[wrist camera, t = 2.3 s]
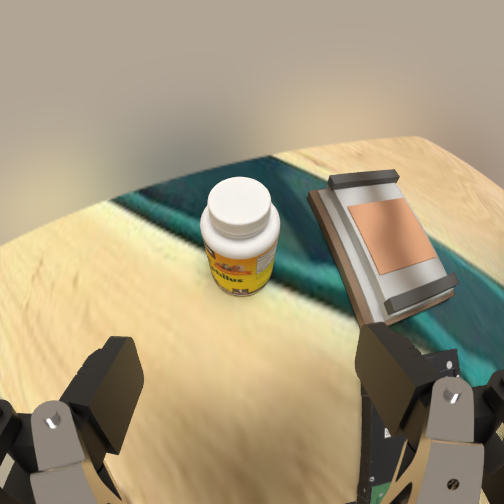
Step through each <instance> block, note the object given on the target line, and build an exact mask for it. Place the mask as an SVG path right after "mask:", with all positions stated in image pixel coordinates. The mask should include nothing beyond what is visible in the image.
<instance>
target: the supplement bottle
mask: <svg viewBox="0 0 504 504" xmlns="http://www.w3.org/2000/svg"><path fill="white" fill-rule="evenodd" d="M200 227H201V234H202V238H203V242H204V245H205V249H206V253H207V257H208V261H209V265H210V269H211V272H212V275H213V278H214V280H215V282H216V283H217V285H218V286H219V287H220V288H221V289H223V290H224V291H226V292H227V293H230V294H233V295H238V296H246V295H251V294H254V293H256V292H258V291H259V290H261V289H262V288H263V287H264V286H265V285H266V284H267V282H268V281H269V279H270V276H271V273H272V268H273V263H274V258H275V253H276V247H277V242H278V236H279V231H280V218H279V215H278V212H277V210H276V208H275V207H274V205H273V204H272V203H271V197H270V194H269V192H268V190H267V189H266V188H265V186H264V185H262V184H261V183H260V182H258V181H256V180H254V179H251V178H246V177H234V178H229V179H226V180H224V181H222V182H220V183H218V184H217V185H216V186H215V187H214V188H213V189H212V190H211V192H210V194H209V197H208V205H207V207H206V208H205V210H204V212H203V214H202V217H201V223H200Z"/></svg>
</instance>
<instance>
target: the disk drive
mask: <svg viewBox="0 0 504 504" xmlns="http://www.w3.org/2000/svg"><path fill="white" fill-rule="evenodd" d="M424 357H425V358H426V359H427V360H428V361H429V362H430V363H431V364H432V365H433V366H434V367H435V369H436V370H437V371H438V372H439V373H440V374H441V375H442V376H443V378H444V377H456V378H459V379H460V368H459V361H458V355H457V349H450V350H446V351H441V352H436V353H430V354H424ZM361 395H362V439H361V440H362V443H361V444H362V445H361V463H360V476H359V483H358V490H357V494H358V496H357V503H356V504H380V503H381V501H382V500H383V498H384V496H385V495H386V493H387V491H388V489H389V487H390V485H391V482H392V480H393V477H394V474H395V471H396V468H397V465H398V462H399V459H400V456H401V452H402V449H403V445H404V443H405V441H406V439H407V438H406V436H405V434H403V435H400V436H397V437H395V438H392V437H391V435H390V434H389V432H388V430H387V428H386V426H385V424H384V422H383V421H382V419H381V417H380V415H379V413H378V411H377V410H376V408H375V406H374V404H373V402H372V401H371V399H370V397H369V395H368V393H367V392H366V390H365V388H364V386H363V385H362V383H361Z"/></svg>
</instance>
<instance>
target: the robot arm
mask: <svg viewBox="0 0 504 504" xmlns="http://www.w3.org/2000/svg"><path fill="white" fill-rule="evenodd" d="M355 370H356V373H357V376H358V377H359V379H360V381H361V383H362V385H363V386H364V388H365V390H366V392H367V393H368V395H369V397H370V399H371V401H372V402H373V404H374V406H375V408H376V410H377V411H378V413H379V415H380V417H381V419H382V421H383V422H384V424H385V426H386V428H387V430H388V432H389V434H390V435H391V437H392V438H395V437H397V436H400V435H403V434H405V436H406V438H407V439H406V441H405V443H404V445H403V449H402V452H401V456H400V459H399V462H398V465H397V468H396V471H395V474H394V477H393V480H392V482H391V485H390V487H389V489H388V491H387V493H386V495H385V496H384V498H383V500H382V501H381V503H380V504H479V499H480V492H481V487H482V489H483V491H484V493H485V495H486V497H487V499H488V501H489V503H490V504H504V443H503V442H502V440H501V439H500V437H499V436H498V435H497V433H496V430H497V429H498V428H499V426H500V425H501V423H502V422H503V423H504V370H499V371H496V372H494V373H493V374H492V376H491V378H490V380H489V382H488V384H487V385H484V386H477V387H470V385H469V384H468V383H467V382H465V381H464V380H462V379H459V378H456V377H444V378H443V376H442V375H441V374H440V373H439V372H438V371H437V370H436V369H435V367H434V366H433V365H432V364H431V363H430V362H429V361H428V360H427V359H426V358H425V357H424V355H421V352H420V351H419V350H418V349H417V348H415V346H414V345H413V344H412V343H411V342H410V340H409V339H408V338H406V337H404V336H402V335H400V334H399V333H397V332H395V333H394V332H393V331H392V330H391V329H390V328H389V327H388V326H387V325H386V324H385V323H384V322H382V321H381V322H375V323H369V324H363V325H362V327H361V329H360V335H359V341H358V346H357V352H356V357H355ZM143 384H144V375H143V370H142V367H141V363H140V360H139V357H138V354H137V350H136V347H135V343H134V341H133V339H132V338H131V337H122V336H111V337H110V338H109V339H108V340H107V342H106V343H105V345H104V346H103V348H102V349H98V350H96V351H95V352H94V353H92V354H91V355H89V356H88V358H87V359H86V361H85V362H84V364H83V365H82V367H81V368H80V369H79V371H78V372H77V375H75V377H74V378H73V380H72V381H71V383H70V384H69V386H68V387H67V389H66V390H65V392H64V393H63V395H62V396H61V398H60V400H59V401H47V402H44V403H42V404H41V405H39V406H38V407H37V408H36V409H35V410H34V412H33V413H32V414H25V413H16V412H15V410H14V409H13V407H12V405H11V404H10V403H9V402H8V401H6V400H0V466H1V464H2V462H3V459H4V458H5V456H6V454H7V453H8V454H9V455H10V456H11V458H12V459H13V460H14V461H15V462H14V464H13V466H12V468H11V471H10V473H9V475H8V477H7V480H6V482H5V485H4V487H3V489H2V488H1V487H0V504H127V502H126V500H125V499H124V497H123V495H122V493H121V491H120V489H119V488H118V486H117V484H116V482H115V480H114V478H113V476H112V474H111V472H110V470H109V468H108V466H107V464H106V462H105V460H104V458H105V455H106V453H111V454H115V455H119V453H120V450H121V447H122V444H123V441H124V438H125V435H126V432H127V430H128V427H129V424H130V421H131V418H132V415H133V413H134V410H135V407H136V404H137V402H138V399H139V396H140V394H141V391H142V388H143ZM346 504H356V501H354V502H350V503H346Z"/></svg>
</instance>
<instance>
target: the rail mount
mask: <svg viewBox="0 0 504 504" xmlns="http://www.w3.org/2000/svg"><path fill="white" fill-rule="evenodd" d="M399 177H400V176H399V175H398V174H397V172H396V171H395V169H393V170H380V171H368V172H357V173H347V174H338V175H330V176H329V180H328V183H327V187H326V189H321V190H313V191H309V193H308V197H307V199H308V201H309V203H310V205H311V208H312V210H313V212H314V214H315V216H316V219H317V221H318V223H319V225H320V228H321V230H322V232H323V235H324V237H325V239H326V242H327V244H328V246H329V249H330V251H331V253H332V256H333V258H334V261H335V263H336V266H337V268H338V271H339V273H340V276H341V278H342V281H343V283H344V286H345V289H346V291H347V294H348V296H349V299H350V302H351V304H352V307H353V310H354V313H355V315H356V318H357V321H358V324H359V327H360V329H361V327H362V325H363V324H369V323H375V322H381V321H382V322H384V323H385V324H386V325H387V326H390V325H392V324H395V323H397V322H400V321H402V320H404V319H407V318H409V317H411V316H414V315H416V314H418V313H420V312H423V311H425V310H427V309H429V308H431V307H433V306H436V305H438V304H440V303H442V302H444V301H446V300H448V299H450V298H451V297H453V296H454V295H455V293H454V291H453V287H455V286H456V285H457V284H459V281H458V279H457V276H456V274H455V272H454V273H452V274H449V275H447V274H446V272H445V270H444V268H443V265H442V263H441V261H440V259H439V257H438V255H437V253H436V251H435V249H434V247H433V245H432V243H431V242H430V240H429V238H428V236H427V234H426V232H425V231H424V229H423V227H422V225H421V223H420V222H419V220H418V218H417V216H416V215H415V213H414V211H413V210H412V208H411V206H410V205H409V203H408V202H407V200H406V198H405V197H404V195H403V194H402V192H401V191H400V189H399V187H398V186H397V184H396V183H397V181H398V179H399Z"/></svg>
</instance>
